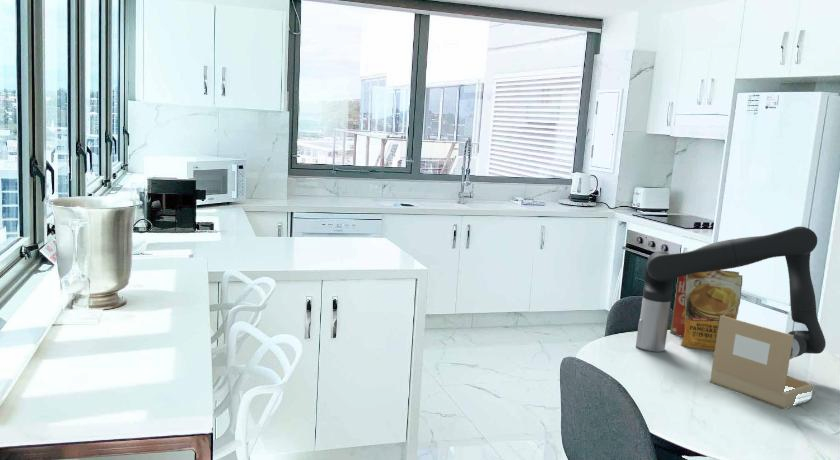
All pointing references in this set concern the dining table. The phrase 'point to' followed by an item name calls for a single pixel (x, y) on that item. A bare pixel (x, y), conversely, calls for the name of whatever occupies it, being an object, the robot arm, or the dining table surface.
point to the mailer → (761, 389)
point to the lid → (753, 352)
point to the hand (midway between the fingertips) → (750, 356)
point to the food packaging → (679, 307)
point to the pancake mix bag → (709, 306)
